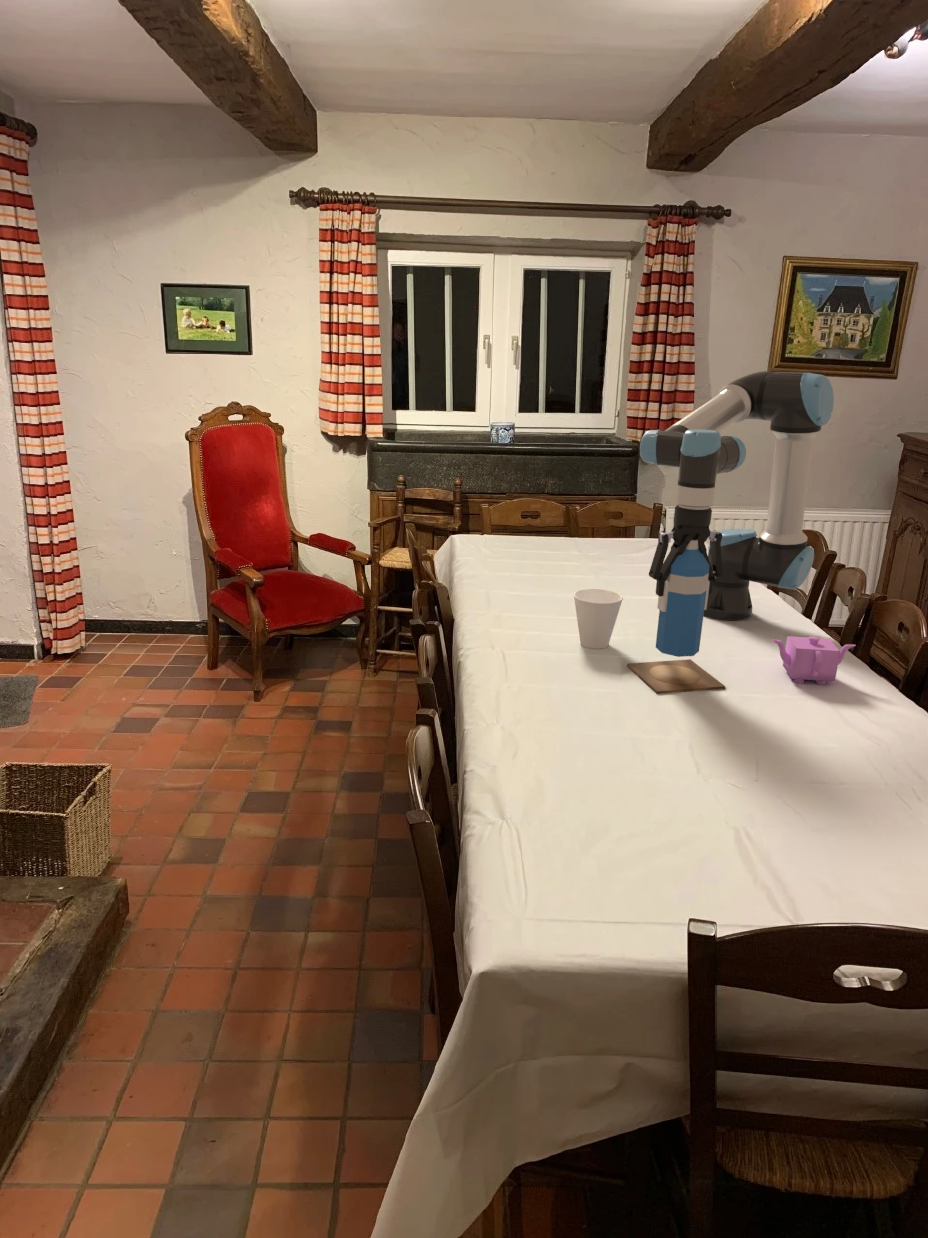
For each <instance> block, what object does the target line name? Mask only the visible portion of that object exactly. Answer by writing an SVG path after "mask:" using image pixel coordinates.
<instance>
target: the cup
mask: <svg viewBox="0 0 928 1238" xmlns="http://www.w3.org/2000/svg"><path fill="white" fill-rule="evenodd" d="M573 599H574V605H575V614H576V621H577V627H578V634H579V642H580V645H581V646H583V647H584V648H588V649H592V650H598V649H599V650H601V649H602V650H603V649H605V648H608V647H609V644H610V642H611V641H610V640H611V637H612V635H613V631H614V628H615V625H616V621H617V618H618V616H619V612H620V609H621V605H622V602H623V600H624V598H623V596H622V594H620V593H618V592H617V591H616V592H615V591H613V590H608V589H601V588H586V589H579V590H577V591H575V592H574V593H573Z"/></svg>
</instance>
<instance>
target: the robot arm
mask: <svg viewBox="0 0 928 1238" xmlns="http://www.w3.org/2000/svg"><path fill="white" fill-rule="evenodd" d="M834 401H835V400H834V390H833V385H832V384H831V381H830V379H829V378H828V377H827V376H825V374H819V373H812V372H803V371H802V372H800V371H799V372H797V371H796V372H794V371H771V370H766V371H765V370H764V371H757V372H752V373H750V374H747V375H743V376H741V377H739V378H736V379H735V380H732V381H731V382H729V383H726V384H725V385H724V386H723V387H721V388H720V389H718V391H717V392H716V394H715V396H714V397H713V398H712V399H709V400H708V401H706V403H704V404H703V405H701V406H700V407H698V408H697V409H694V411H692V412H690V413H689V414H687V415H686V416H685V417H683V418H682V419H680V420H678V421H677V422H675V423H674V424H672V425H670V427H668V428H667V429H665V430H661V429H650V430H647V431H646V432H644V434H643V436H641V437H642V438H641V440H640V442H639V455H640V458H641V459H642V461H643V462H645V463H646V464H651V465H655V466H664V467H672V468H679V470H678V480H677V487H676V496H675V504H677V505H675V506H674V511H673V512H674V514H673V527H672V529H671V531H667V532H663V531H659V532H658V533H657V546H656V548H655V552H654V555H653V559H652V560H651V561H652V562H651V565H650V568H649V571H648V576H649V577H650V578H651V579H653V580H656V584H655V595H657V597H658V599H657V606H656V607H657V609H658V610H661V611H662V612H666V608H667V599H668V590H669V582H667V581H666V580H667V578H668V576H669V574H670V568H671V565H672V564H673V562H674V561H675V559H676V558H677V557H678V556H679V555H682V554H683V552H684V550H685V549H686V547H687V545H688V544H689V543H690V541H691V540H698V545H699V549H700V551H701V553H702V554H703V555H704V557H705V559H706V560H707V562H708V564H709V565H710V567H709V575H708V583H707V591H706V599H705V607H704V615H703V617H707V618H710V619H716V620H723V621H742V620H748V619H749V618H751V617H752V616H753V604H752V599H751V592H750V589H749V588H750V587H749V586H750V582H753V583H758V584H763V585H767V586H772V587H775V588H779V589H787V590H796V589H798V588H800V587H801V586H802V585H803V584H804V583H805V581H806V579H807V577H808V576H809V574H810V572H811V570H812V566H813V563H814V559H815V549H814V548H813V547H811V546H810V545H808V536H807V535H806V534H805V532H804V531H803V525H804V518H805V516H804V515H805V510H806V502H807V501H806V500H807V493H808V484H809V476H810V475H809V474H810V466H811V458H812V450H813V443H814V442H813V441H814V438H815V437H816V436H817V435H818V434H820V432H821V431H822V426H825V425H827V424H828V423H829V421H830V420H831V417H832V413H833V409H834ZM744 420H760V421H761V420H762V421H770V427H769V430H770V432H771V433H772V434H773V435H774V436H775V443H774V452H773V461H772V471H771V472H772V473H771V479H770V480H771V483H770V491H769V500H768V511H767V518H766V519H767V522H766V528H765V529H764V530H763V531H762V532H761V533H760V534H759V537H757V536H758V535H757V532H756V530H755V529H751V528H750V529H749V528H727V529H720V530H715V529H714V530H710V525H711V523H712V522H711V520H712V513H713V509H712V508H711V507H712V506H713V505H714V500H715V498H714V497H715V496H714V495H715V488H716V482H717V481H716V479H717V475H720V474H724V473H725V474H726V473H729V472H730V473H731V472H733V471H734V470H736V469H739V468H740V467H741V466H742V465H743V463H744V462H745V461H746V457H747V449H746V445H745V443H744V442H743V441H742V439H740V438H739V437H737V436H733V435H723V436H721V433H720V432H722V431H723V430H726V429H727V427H729V426H731V425H732V424H739V423H741V422H743V421H744ZM672 539H673V543H672V544H671V546H670V550H669V553H667V551H668V549H669V543H670V542H671V540H672ZM707 540H709V545H708V548H707V547H706V544H705V543H706V541H707ZM677 548H678V549H677ZM707 549H708V550H707ZM707 551H708V552H707Z"/></svg>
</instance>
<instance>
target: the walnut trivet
mask: <svg viewBox="0 0 928 1238" xmlns="http://www.w3.org/2000/svg"><path fill="white" fill-rule="evenodd" d="M626 668H628V669H629V670H630V671H631V672H632V673H633V674H634V675H636V676H637V677H638V678H639V679H640V680H641V681H642V682H643V683H644V684H645V685H646V686H647V687H649V688H650V689H651V690H652V691H653V692H654V693H655V694H656V695H660V694H661V695H662V694H672V693H673V694H675V693H676V694H677V693H687V692H688V693H689V692H702V691H715V690H725V689H726V685H724V684H723V683H722V682H720V681H719V680H718V679H717V678H716V677H714V676H713V675H711V674H710V673H709V672H707V671H706V670H705V669H703V667H701V666H700V665H698V664H697V663H696V662H695V661H693V660H692V659H690V658H689V659H677V660H676V659H675V660H662V661H661V660H660V661H647V662H644V661H642V662H631V663H630V662H629V663H626Z"/></svg>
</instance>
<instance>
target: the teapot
mask: <svg viewBox="0 0 928 1238" xmlns="http://www.w3.org/2000/svg"><path fill="white" fill-rule="evenodd" d="M771 641H772V642H774V643H776V644H777V646H778V650H779V656H780V659H781V660H782V667H783V668H784V670H785V671H786V672H787V674H788V676H789V677H790V679H791V680H793V679H794V683H797V684H804V682H805V680H806V681H816V684H817V685H822V686H826V685H827V683H826V682H836V677H837V672H838V666H839V665H840V664H841V662H842V661H843V659H844V657H845V655H846V653H847V652H848V651H849V650H850V649H851V648H854V647H856V646H857V645H856V644H853V643H851V644H849V643H848V644H847V643H846V644H844V645H843V646H842V647H841V648H840V650H839V648H838V647H837V646H836V645H835V644H834V642H833V641H832V640H831V639H830V638H823V637H822V638H821V637H818V636H814V635H811V636H808V637H807V636H806V637H805V636H793V635H792V636H789V635H788V636H787V637H786V643H785V644H784V642H783V641H782V640H780V639H771Z"/></svg>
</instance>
